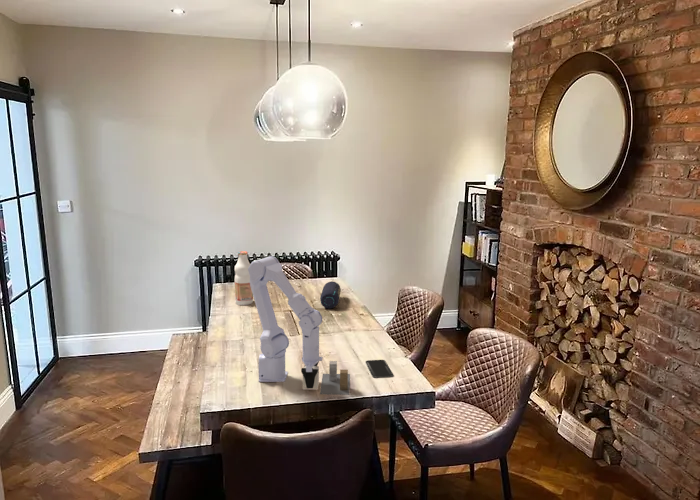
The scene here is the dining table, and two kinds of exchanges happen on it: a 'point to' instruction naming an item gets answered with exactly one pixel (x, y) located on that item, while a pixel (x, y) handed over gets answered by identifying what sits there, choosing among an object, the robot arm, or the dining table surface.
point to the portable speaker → (330, 295)
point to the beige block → (316, 381)
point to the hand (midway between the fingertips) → (310, 382)
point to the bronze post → (343, 379)
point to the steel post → (333, 371)
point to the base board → (333, 386)
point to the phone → (379, 368)
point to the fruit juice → (243, 280)
